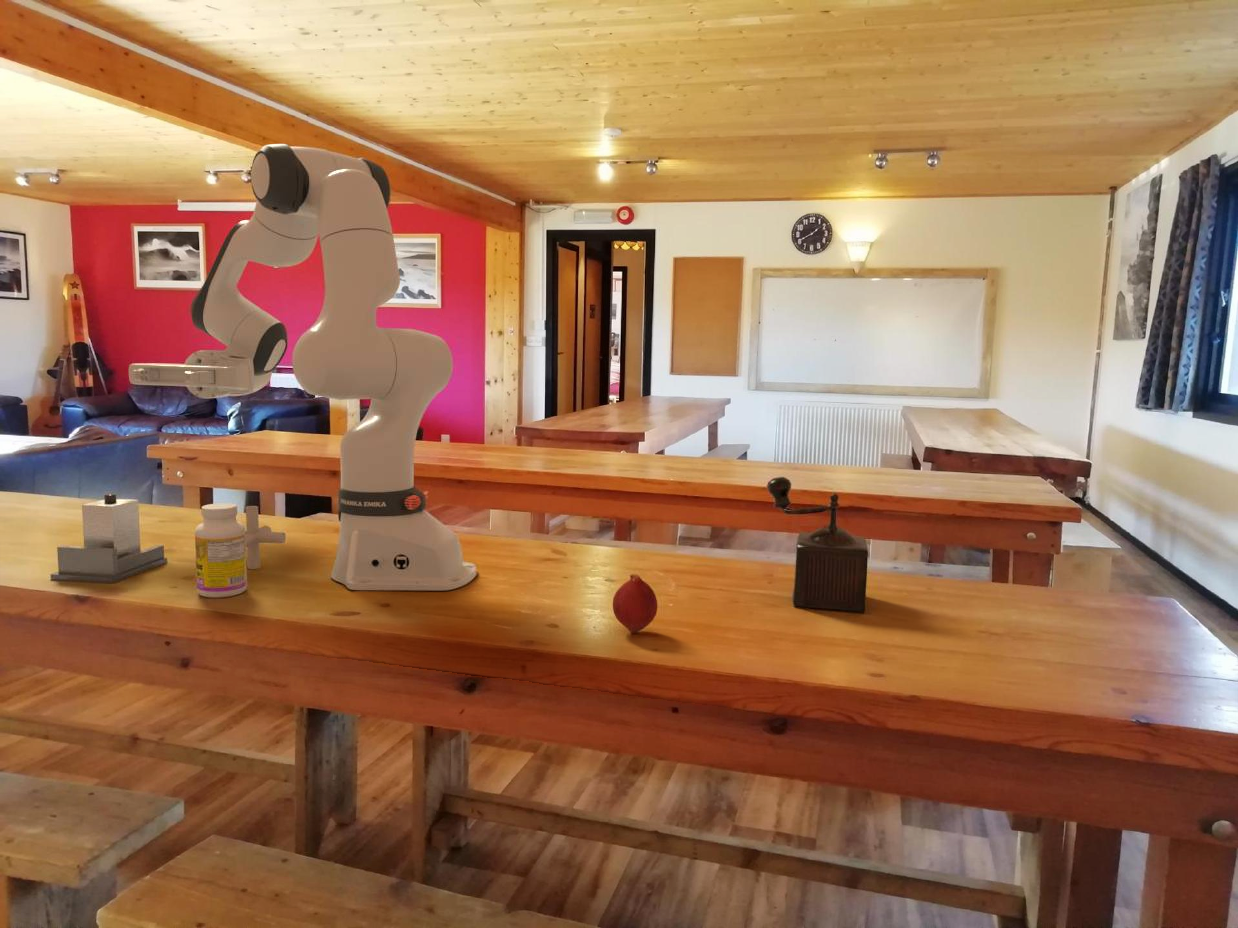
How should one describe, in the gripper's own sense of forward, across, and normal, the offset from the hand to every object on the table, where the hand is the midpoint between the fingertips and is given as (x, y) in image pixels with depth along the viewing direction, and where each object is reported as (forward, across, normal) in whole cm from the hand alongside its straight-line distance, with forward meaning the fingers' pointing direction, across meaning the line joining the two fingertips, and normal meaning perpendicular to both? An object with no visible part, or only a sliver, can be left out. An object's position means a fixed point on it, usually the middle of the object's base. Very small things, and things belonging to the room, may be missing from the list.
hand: (162, 376), depth 147 cm
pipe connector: (+8, +20, +30) cm, 37 cm away
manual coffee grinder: (+7, +109, +30) cm, 113 cm away
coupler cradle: (+14, 0, +30) cm, 33 cm away
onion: (+28, +84, +30) cm, 94 cm away
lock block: (+14, 0, +29) cm, 32 cm away
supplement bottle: (+22, +23, +30) cm, 44 cm away
